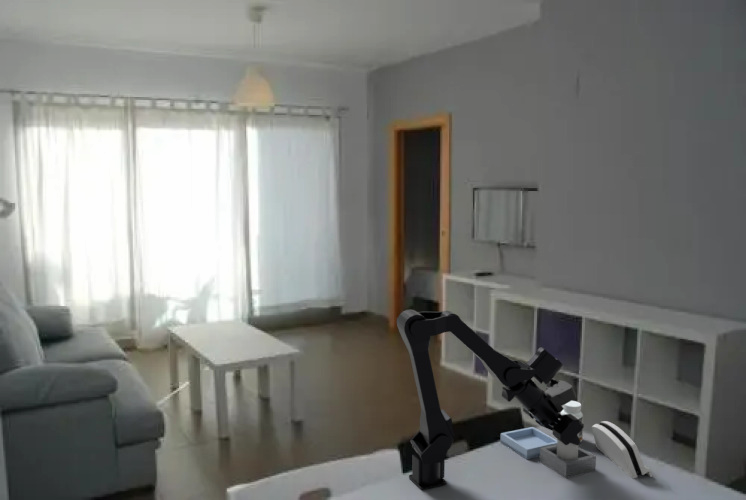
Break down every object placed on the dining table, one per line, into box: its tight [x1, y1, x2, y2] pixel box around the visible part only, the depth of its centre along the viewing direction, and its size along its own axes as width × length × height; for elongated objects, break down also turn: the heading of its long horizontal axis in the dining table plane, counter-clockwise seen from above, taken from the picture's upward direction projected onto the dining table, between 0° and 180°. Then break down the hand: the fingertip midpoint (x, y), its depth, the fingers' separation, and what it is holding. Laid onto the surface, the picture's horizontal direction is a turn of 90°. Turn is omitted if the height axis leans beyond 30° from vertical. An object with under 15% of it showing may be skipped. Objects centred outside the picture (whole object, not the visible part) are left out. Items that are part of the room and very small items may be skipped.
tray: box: [500, 426, 557, 460], centre depth 149 cm, size 11×11×2 cm
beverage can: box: [556, 414, 579, 461], centre depth 138 cm, size 5×5×12 cm
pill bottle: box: [559, 400, 584, 442], centre depth 153 cm, size 6×6×10 cm
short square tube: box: [539, 444, 597, 479], centre depth 138 cm, size 9×9×4 cm
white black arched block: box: [591, 420, 653, 479], centre depth 141 cm, size 17×5×10 cm, turn 7°
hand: (573, 439), depth 138 cm, fingers closed on beverage can, 5 cm apart
